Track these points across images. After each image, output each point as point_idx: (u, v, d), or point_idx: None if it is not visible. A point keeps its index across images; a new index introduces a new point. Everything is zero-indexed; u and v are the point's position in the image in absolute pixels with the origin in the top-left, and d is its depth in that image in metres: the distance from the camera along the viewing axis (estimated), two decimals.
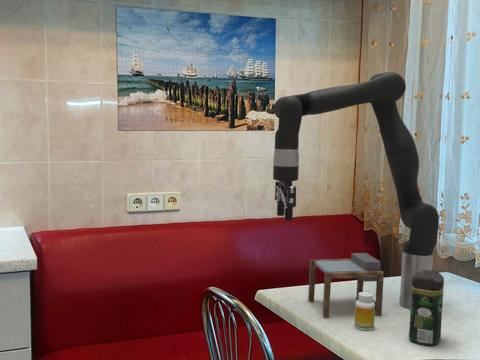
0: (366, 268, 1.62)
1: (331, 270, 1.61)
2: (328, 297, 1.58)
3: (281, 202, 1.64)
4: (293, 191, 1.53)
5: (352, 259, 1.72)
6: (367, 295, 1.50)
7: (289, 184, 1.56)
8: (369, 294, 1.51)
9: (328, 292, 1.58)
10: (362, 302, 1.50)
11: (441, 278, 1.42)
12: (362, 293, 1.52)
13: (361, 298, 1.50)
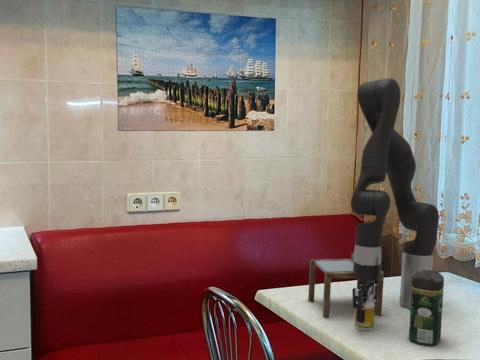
0: None
1: (331, 270, 1.61)
2: (328, 297, 1.58)
3: None
4: None
5: (352, 259, 1.72)
6: None
7: None
8: None
9: (328, 292, 1.58)
10: None
11: (441, 278, 1.42)
12: None
13: None
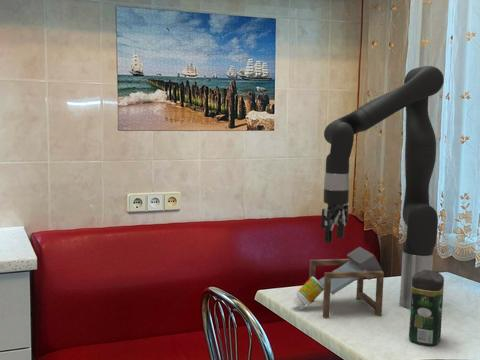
0: (364, 268, 1.62)
1: (334, 287, 1.62)
2: (328, 297, 1.58)
3: None
4: None
5: (350, 260, 1.72)
6: (298, 305, 1.64)
7: None
8: None
9: (328, 292, 1.58)
10: (305, 304, 1.65)
11: (441, 278, 1.42)
12: None
13: (303, 307, 1.65)
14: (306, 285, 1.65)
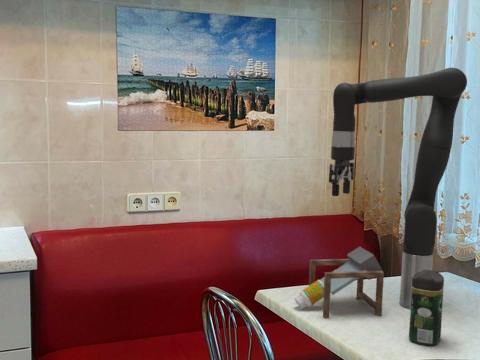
0: (364, 268, 1.62)
1: (334, 288, 1.62)
2: (328, 297, 1.58)
3: None
4: None
5: (350, 260, 1.72)
6: (299, 304, 1.65)
7: None
8: (296, 301, 1.65)
9: (328, 292, 1.58)
10: None
11: (441, 278, 1.42)
12: (298, 305, 1.66)
13: (304, 307, 1.65)
14: (311, 286, 1.66)
